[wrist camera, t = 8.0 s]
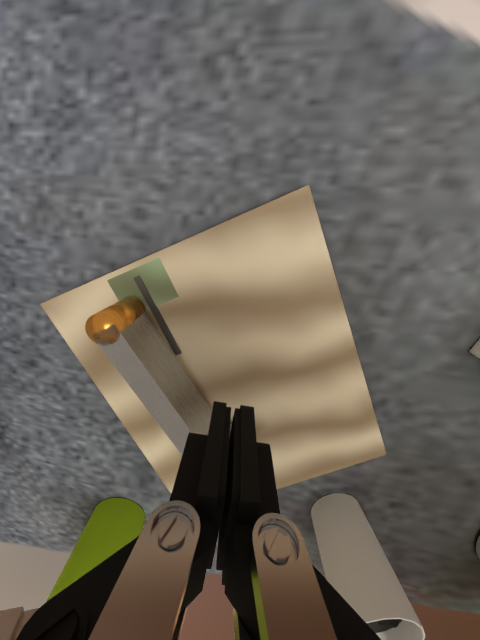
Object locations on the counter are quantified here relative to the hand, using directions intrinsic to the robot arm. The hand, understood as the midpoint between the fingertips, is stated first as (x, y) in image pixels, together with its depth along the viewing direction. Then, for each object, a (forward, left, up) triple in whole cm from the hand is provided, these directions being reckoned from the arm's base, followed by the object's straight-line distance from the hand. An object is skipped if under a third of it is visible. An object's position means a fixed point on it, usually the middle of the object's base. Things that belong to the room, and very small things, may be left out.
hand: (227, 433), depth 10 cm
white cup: (-26, -2, -13) cm, 29 cm away
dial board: (-5, +2, -12) cm, 13 cm away
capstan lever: (-3, +5, -10) cm, 12 cm away
